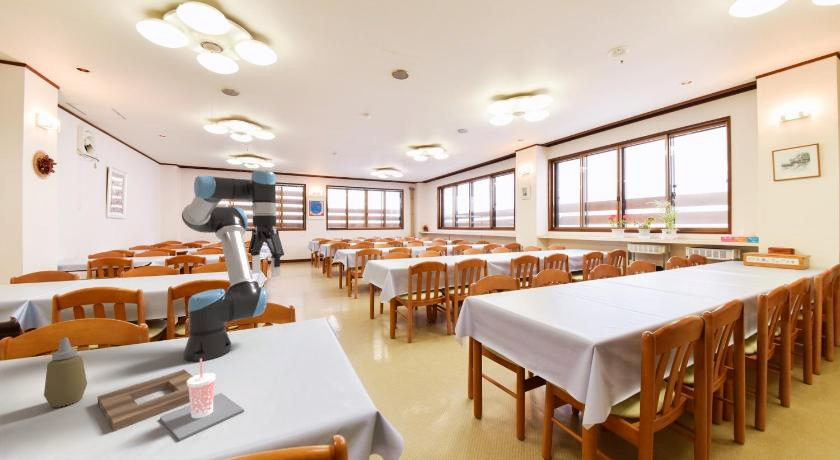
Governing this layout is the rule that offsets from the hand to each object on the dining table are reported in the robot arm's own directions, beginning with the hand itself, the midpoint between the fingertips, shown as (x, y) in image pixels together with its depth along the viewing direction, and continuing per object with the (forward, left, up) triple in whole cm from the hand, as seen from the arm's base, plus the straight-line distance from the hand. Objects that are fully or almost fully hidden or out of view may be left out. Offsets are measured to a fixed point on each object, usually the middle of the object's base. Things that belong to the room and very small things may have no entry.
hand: (265, 274), depth 114 cm
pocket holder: (-1, -32, -31) cm, 44 cm away
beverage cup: (+19, -27, -30) cm, 45 cm away
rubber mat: (+19, -27, -31) cm, 45 cm away
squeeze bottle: (-19, -47, -31) cm, 59 cm away
